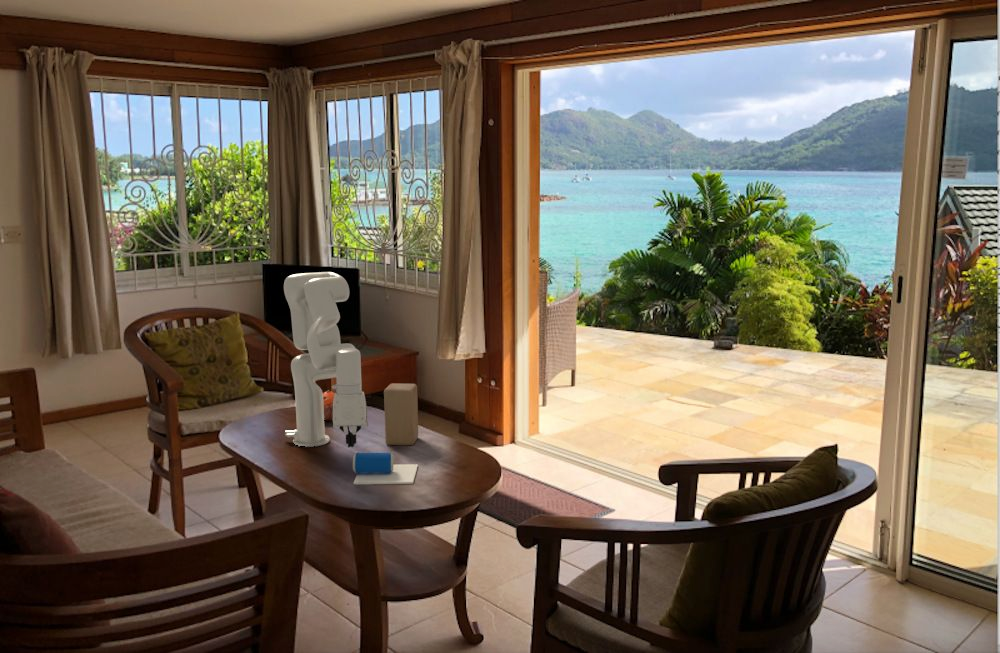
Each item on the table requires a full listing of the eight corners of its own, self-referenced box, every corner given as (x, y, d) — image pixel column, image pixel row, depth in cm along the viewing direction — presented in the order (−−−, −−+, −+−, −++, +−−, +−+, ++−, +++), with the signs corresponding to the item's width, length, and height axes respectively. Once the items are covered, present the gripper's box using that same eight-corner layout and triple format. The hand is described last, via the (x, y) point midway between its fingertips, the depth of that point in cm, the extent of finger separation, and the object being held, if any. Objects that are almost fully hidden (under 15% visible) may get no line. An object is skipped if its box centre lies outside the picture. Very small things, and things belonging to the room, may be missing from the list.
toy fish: (335, 413, 330) (333, 385, 328) (351, 419, 323) (349, 390, 321) (309, 420, 321) (307, 391, 319) (324, 425, 314) (323, 396, 312)
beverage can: (351, 470, 256) (390, 470, 256) (353, 450, 259) (391, 450, 259) (355, 476, 262) (393, 475, 262) (356, 456, 265) (394, 455, 265)
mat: (353, 484, 253) (353, 482, 253) (362, 466, 269) (361, 464, 269) (412, 483, 253) (412, 482, 253) (417, 466, 269) (417, 464, 269)
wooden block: (418, 437, 299) (417, 383, 295) (413, 446, 289) (411, 390, 285) (391, 436, 300) (389, 382, 296) (385, 445, 290) (383, 389, 286)
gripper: (322, 392, 252) (324, 450, 255) (372, 391, 252) (373, 449, 256) (327, 385, 260) (329, 442, 263) (375, 385, 260) (376, 441, 263)
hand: (351, 445), depth 259 cm, fingers closed
